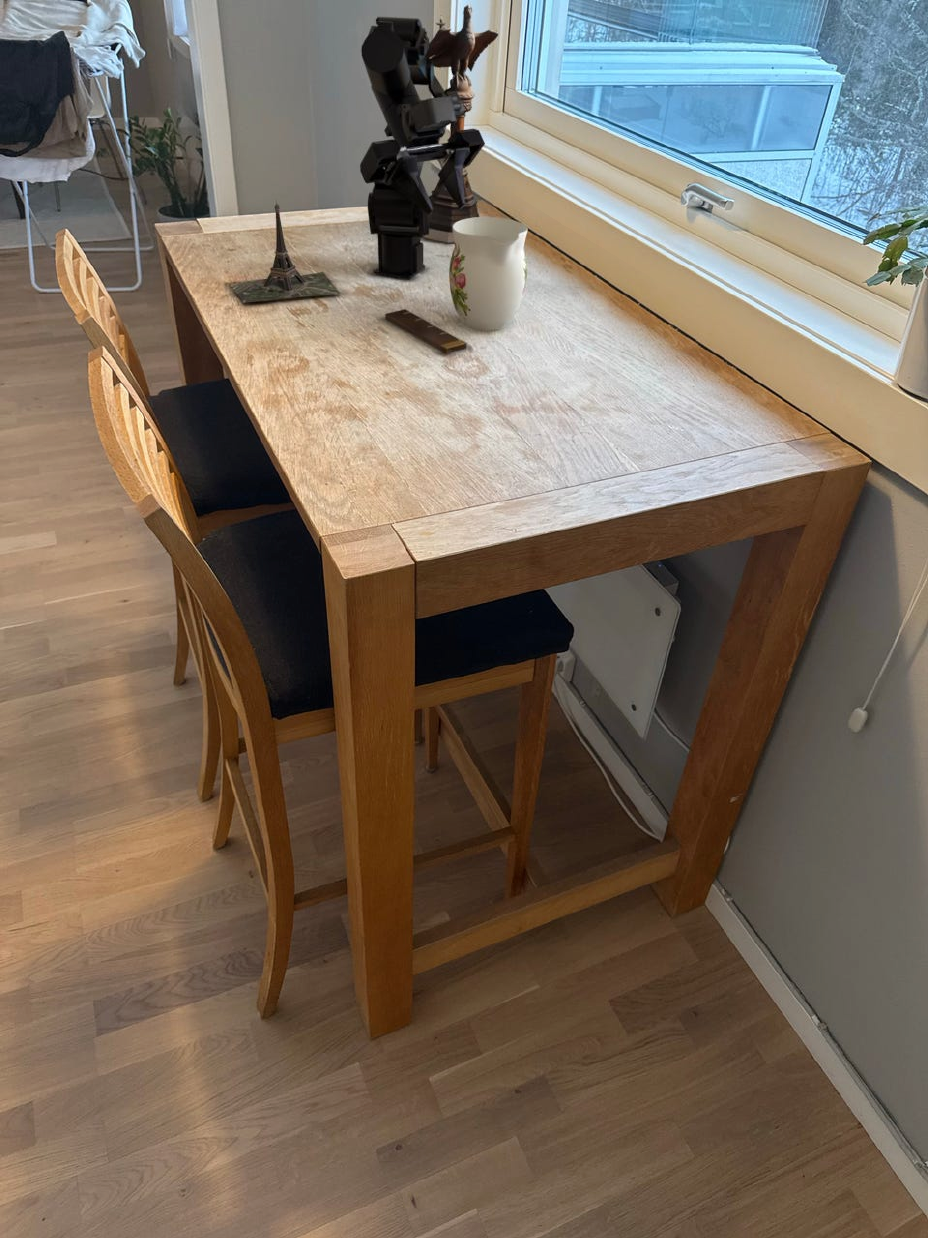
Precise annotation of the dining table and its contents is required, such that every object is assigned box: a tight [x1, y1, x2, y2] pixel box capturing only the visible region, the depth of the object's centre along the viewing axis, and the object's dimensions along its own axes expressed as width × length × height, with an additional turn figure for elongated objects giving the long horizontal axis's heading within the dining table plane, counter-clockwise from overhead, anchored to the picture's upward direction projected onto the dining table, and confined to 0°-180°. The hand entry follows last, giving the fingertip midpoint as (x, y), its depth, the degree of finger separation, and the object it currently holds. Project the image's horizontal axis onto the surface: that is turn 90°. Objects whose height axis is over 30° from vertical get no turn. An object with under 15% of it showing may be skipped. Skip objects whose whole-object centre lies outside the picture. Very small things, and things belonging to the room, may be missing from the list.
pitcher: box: [448, 216, 529, 332], centre depth 127 cm, size 11×18×14 cm, turn 19°
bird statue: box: [423, 4, 499, 243], centre depth 153 cm, size 17×13×35 cm
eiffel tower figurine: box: [229, 199, 341, 304], centre depth 134 cm, size 15×10×13 cm
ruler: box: [384, 308, 467, 355], centre depth 127 cm, size 15×4×1 cm, turn 37°
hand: (446, 209), depth 129 cm, fingers open, 5 cm apart
